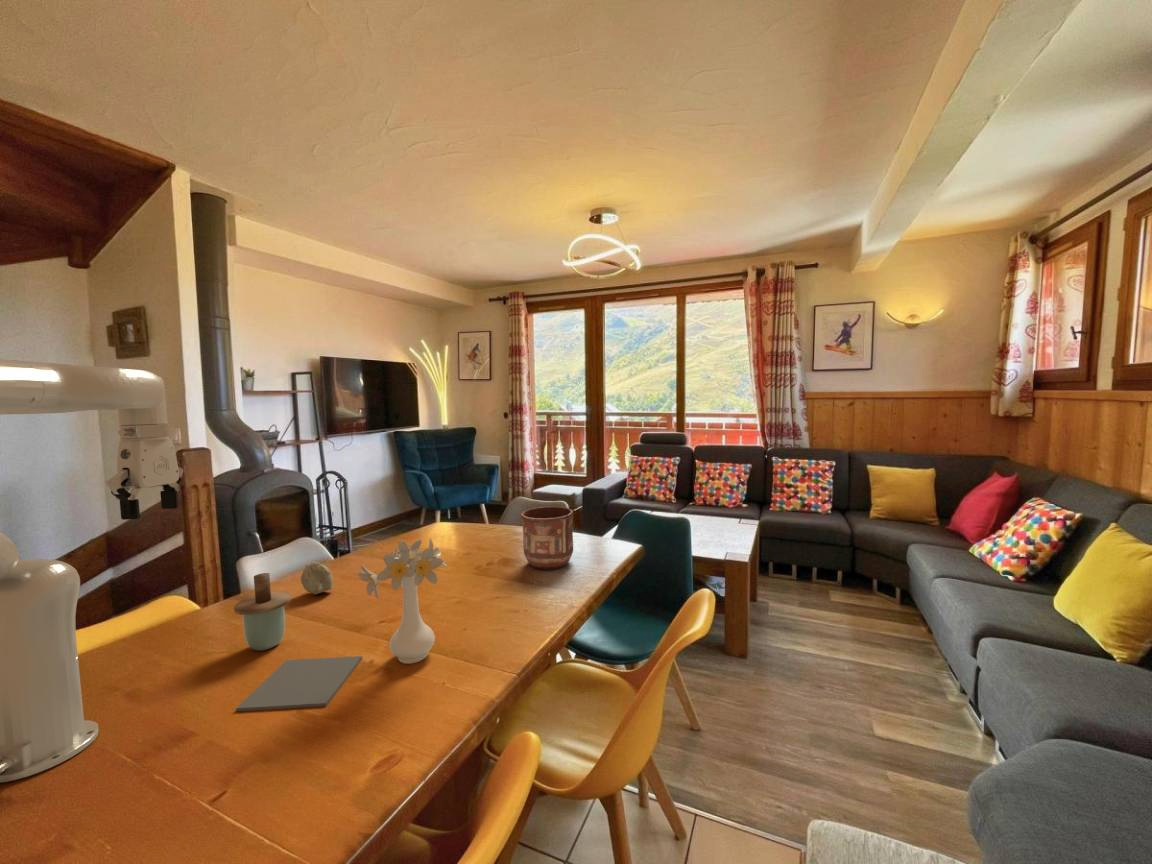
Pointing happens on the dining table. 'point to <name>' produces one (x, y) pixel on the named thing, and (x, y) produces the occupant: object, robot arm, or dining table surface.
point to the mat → (301, 684)
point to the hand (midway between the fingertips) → (151, 513)
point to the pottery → (548, 536)
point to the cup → (264, 629)
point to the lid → (262, 598)
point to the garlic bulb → (317, 578)
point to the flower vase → (408, 597)
